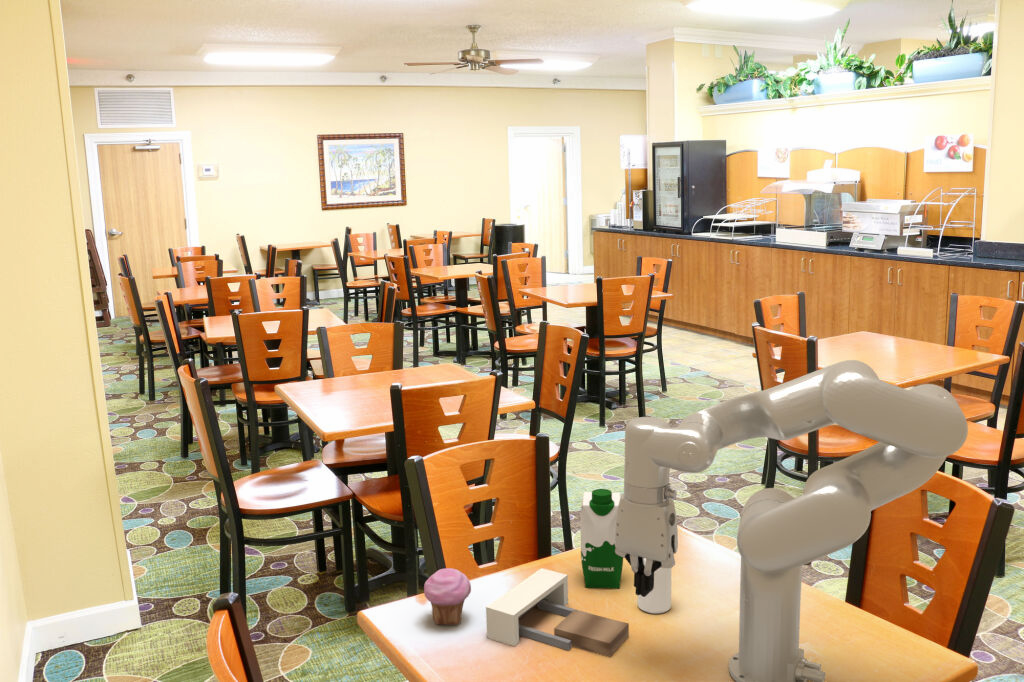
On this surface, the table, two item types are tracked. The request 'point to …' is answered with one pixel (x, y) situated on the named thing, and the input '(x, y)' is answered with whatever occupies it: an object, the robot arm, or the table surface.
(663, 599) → the can
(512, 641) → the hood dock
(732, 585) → the table surface
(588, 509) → the milk carton
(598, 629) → the walnut tile
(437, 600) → the cupcake
